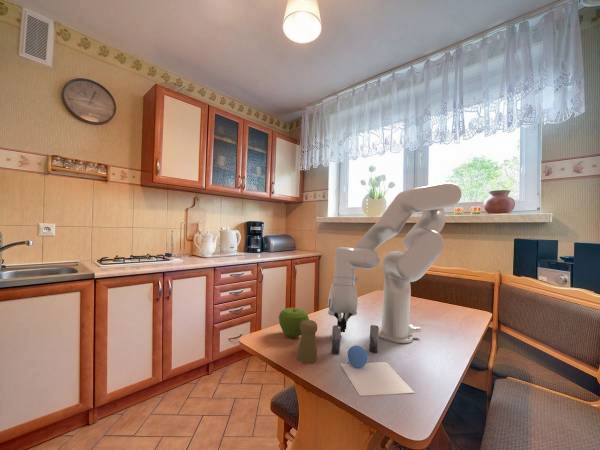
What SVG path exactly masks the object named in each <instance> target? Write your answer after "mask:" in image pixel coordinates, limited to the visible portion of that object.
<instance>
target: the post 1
mask: <svg viewBox="0 0 600 450" xmlns="http://www.w3.org/2000/svg"><path fill="white" fill-rule="evenodd" d="M331 329H332V331H331V345H330V346H331V350H330V353H331V354H332V355H339V354H340V352H341V351H340V349H341V333H342V332H341V327H340V326H337V324H335V325H333V326H332V328H331Z"/></svg>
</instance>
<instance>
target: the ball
mask: <svg viewBox="0 0 600 450" xmlns="http://www.w3.org/2000/svg"><path fill="white" fill-rule="evenodd" d="M368 357H369V356H368V353H367V350H366V349H365V348H364V347H363V346H360V345H353V346H351V347H350V348H349V349H348V351H347V360H348V361H349V362H348V363H351V365H353V366H354V367H358V368H359V367H363V366H364V365H365V364H366V363H368V359H369V358H368Z"/></svg>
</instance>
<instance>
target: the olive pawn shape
mask: <svg viewBox="0 0 600 450" xmlns="http://www.w3.org/2000/svg"><path fill="white" fill-rule="evenodd" d="M300 330H301V332H302V333H301V335H300V338H299V339H300V340H299V345H298V349H297V355H296V359H297V361H298V362H300V363H302V364H304V365H305V364H306V365H310V364H315V363H317V361H318V353H317V352H318V351H317V339H316V333H317V331H318V324H317V322H316V321H314V320H312V319H309V320H304V321H302V322H301V324H300Z"/></svg>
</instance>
